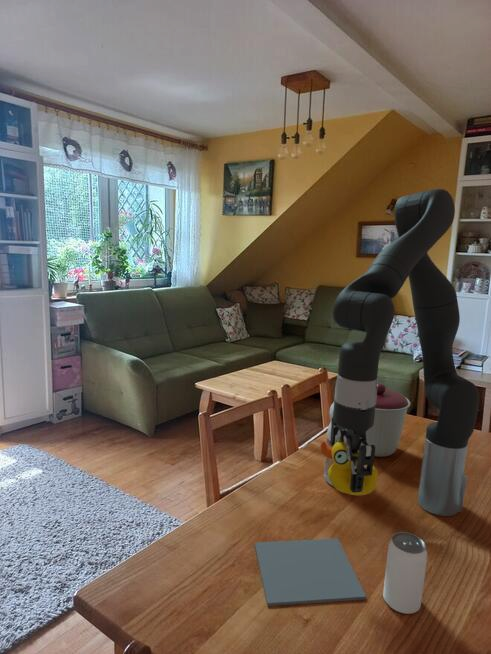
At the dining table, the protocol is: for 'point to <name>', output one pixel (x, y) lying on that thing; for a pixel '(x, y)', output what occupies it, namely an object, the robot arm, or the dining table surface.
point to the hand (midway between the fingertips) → (347, 480)
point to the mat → (306, 572)
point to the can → (405, 573)
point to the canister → (387, 421)
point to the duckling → (345, 470)
